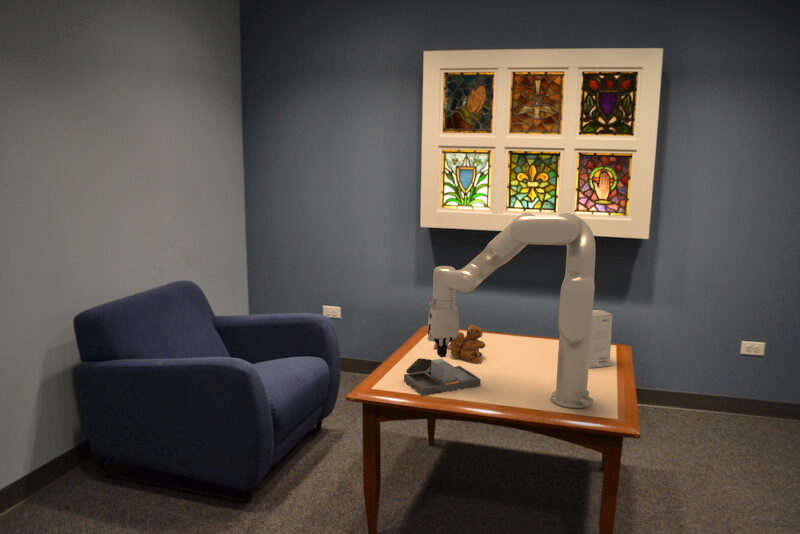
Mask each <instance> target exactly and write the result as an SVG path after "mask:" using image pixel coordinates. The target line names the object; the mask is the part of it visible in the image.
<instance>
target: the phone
mask: <svg viewBox="0 0 800 534" xmlns="http://www.w3.org/2000/svg"><path fill="white" fill-rule="evenodd" d="M431 360H432V359H429V358H417V359H415V361H414V362H413V363H412V364H411V365H410V366H409V367H408V368H406V370H405V371H406V372H405V374H410V373H417V372H423V371H430V370H431Z"/></svg>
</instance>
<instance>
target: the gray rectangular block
mask: <svg viewBox="0 0 800 534" xmlns="http://www.w3.org/2000/svg"><path fill="white" fill-rule="evenodd" d="M430 360H431V376H432V377H434V378H435V379H436V380H438V381H439V382H441V383H442V384H444V383H447V382H453V381H455V372H456V368H455V367H456V366H454V365H452V364H451V363H449V362H447V361H446V360H445V359H443V358H437V359H435V358H434V359H430Z"/></svg>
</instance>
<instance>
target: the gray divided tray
mask: <svg viewBox="0 0 800 534" xmlns="http://www.w3.org/2000/svg"><path fill="white" fill-rule="evenodd" d="M454 367H455V368H456V372H455V381H453V382H447V383H444V384H442V383H441V382H439V381H438V380H436V379H435V378H434V377H432V376H431V370H430V371H423V372H417V373H404V374H403V382H404V383H405V382H406V383H405V384H407V385H408V386H409V387H410V386H411V387H410V388H411V389H412V390H414V389H415V390H416V391H415V390H414V391H415V392H416V393H418V394H419V395H420V394H421V395H420V396H422V397H424V396H423V395H425V396H429V395H435V394H436V393H437V394H441V393H442V392H443V393H447V391H449V392H454V391H453V390H455V391H459V390H458V389H460V390H466V389H473V388H478V387H481V378H480V377H478V376H477V375H475V374H474V373H472V372H470V371H469V370H467V369H465V368H464V367H462V366H461V365H458V366H454ZM465 388H466V389H465Z"/></svg>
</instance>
